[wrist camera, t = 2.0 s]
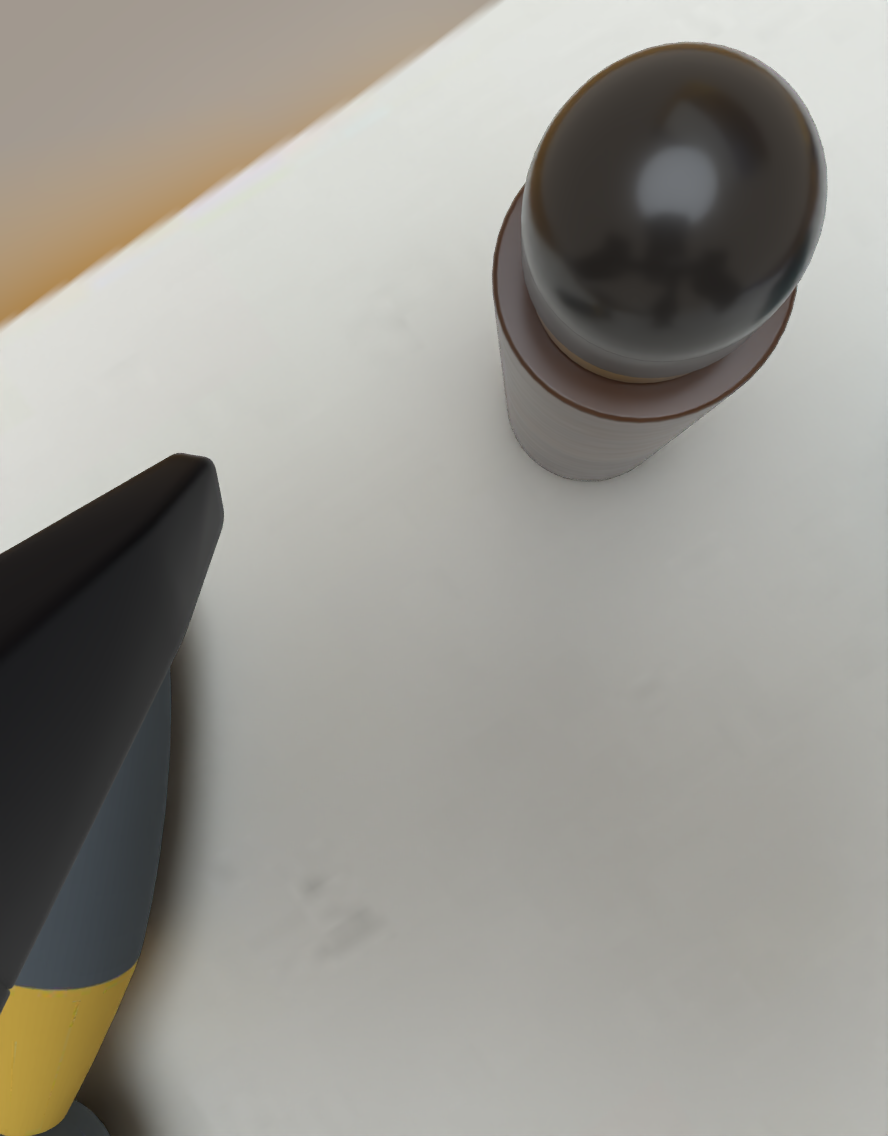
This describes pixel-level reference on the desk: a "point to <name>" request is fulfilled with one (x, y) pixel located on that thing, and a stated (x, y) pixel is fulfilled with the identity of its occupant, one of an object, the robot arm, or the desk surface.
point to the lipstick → (653, 253)
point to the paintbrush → (87, 948)
